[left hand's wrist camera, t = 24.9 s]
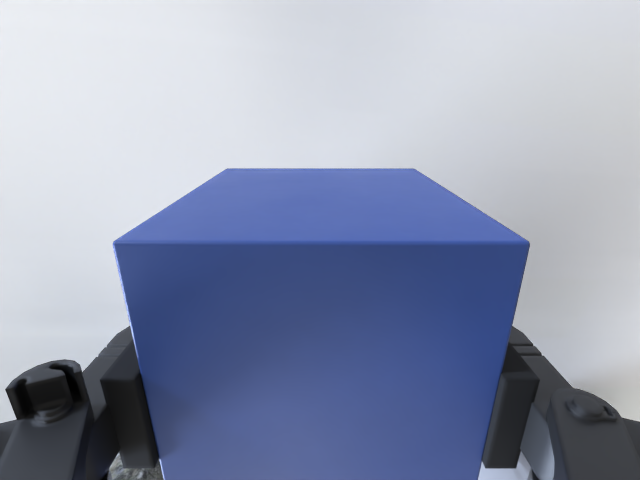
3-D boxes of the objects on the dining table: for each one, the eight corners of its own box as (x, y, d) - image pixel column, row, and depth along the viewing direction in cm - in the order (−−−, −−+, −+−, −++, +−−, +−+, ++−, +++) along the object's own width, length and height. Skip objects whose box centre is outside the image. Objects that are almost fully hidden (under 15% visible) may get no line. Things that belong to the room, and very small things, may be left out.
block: (399, 339, 18) (467, 535, 10) (241, 338, 18) (174, 535, 10) (415, 168, 15) (532, 241, 7) (226, 168, 15) (109, 242, 7)
